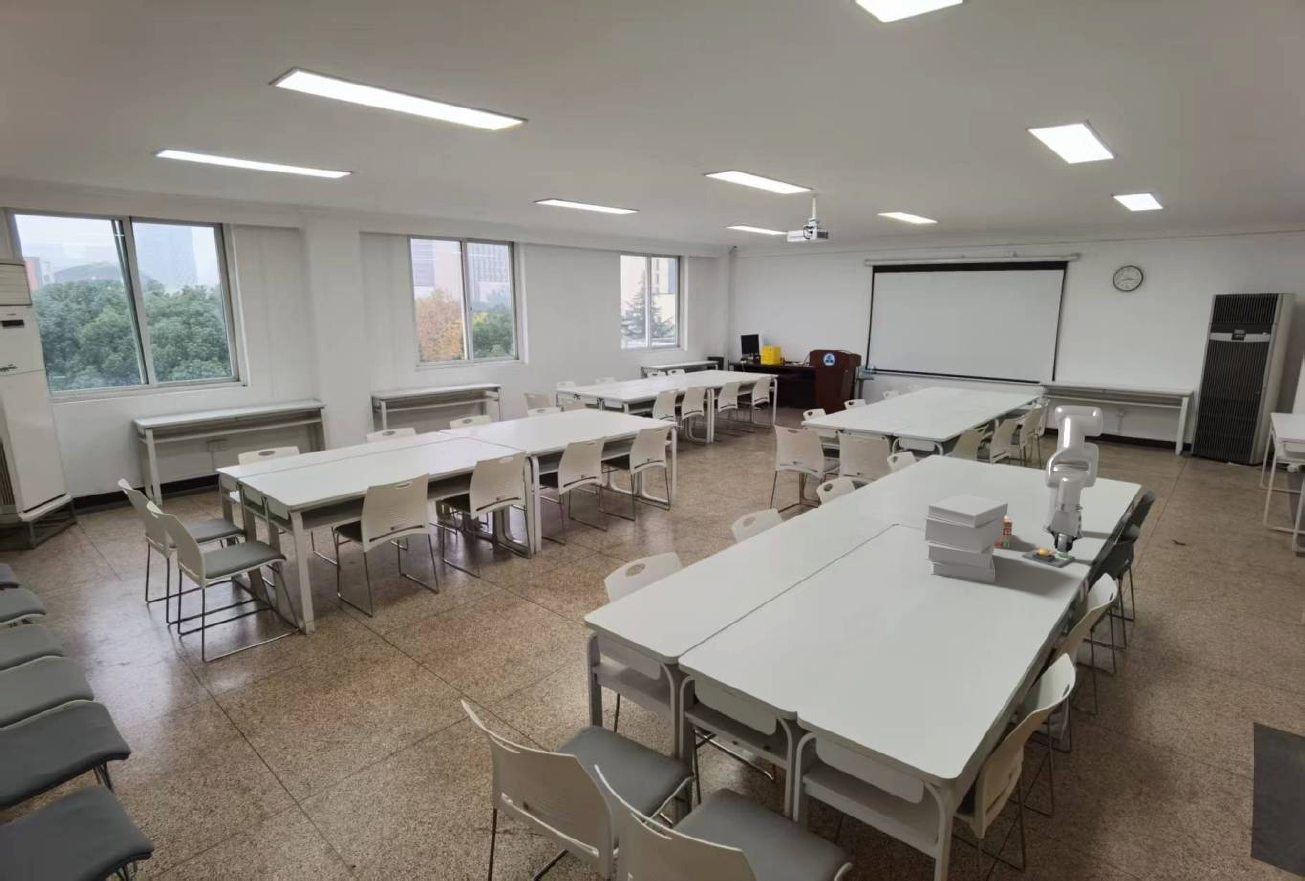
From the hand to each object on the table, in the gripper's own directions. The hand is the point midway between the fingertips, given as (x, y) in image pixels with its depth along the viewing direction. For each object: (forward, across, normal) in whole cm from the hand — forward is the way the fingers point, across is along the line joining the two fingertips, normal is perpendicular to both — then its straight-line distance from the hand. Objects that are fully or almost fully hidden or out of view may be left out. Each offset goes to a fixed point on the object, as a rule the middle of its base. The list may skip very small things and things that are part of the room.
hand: (1062, 549), depth 269 cm
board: (+4, +4, +4) cm, 7 cm away
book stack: (+5, +22, +38) cm, 44 cm away
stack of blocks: (+5, +28, -1) cm, 29 cm away
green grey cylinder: (+2, 0, 0) cm, 2 cm away
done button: (+2, +3, +8) cm, 9 cm away
